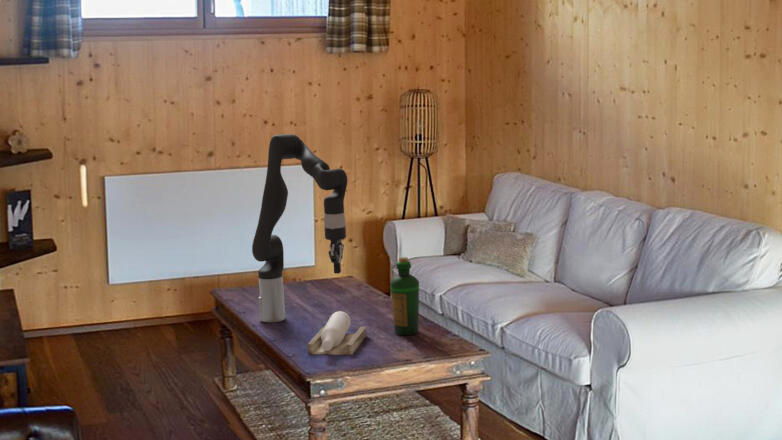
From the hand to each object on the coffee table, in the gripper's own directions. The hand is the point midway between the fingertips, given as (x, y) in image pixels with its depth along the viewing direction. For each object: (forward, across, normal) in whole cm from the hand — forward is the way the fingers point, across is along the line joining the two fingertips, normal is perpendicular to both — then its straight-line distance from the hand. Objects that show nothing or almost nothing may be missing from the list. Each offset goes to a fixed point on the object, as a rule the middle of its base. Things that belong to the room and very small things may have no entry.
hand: (337, 273), depth 387 cm
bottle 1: (+20, -9, -2) cm, 22 cm away
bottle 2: (+25, -11, +22) cm, 35 cm away
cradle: (+25, +6, 0) cm, 26 cm away
